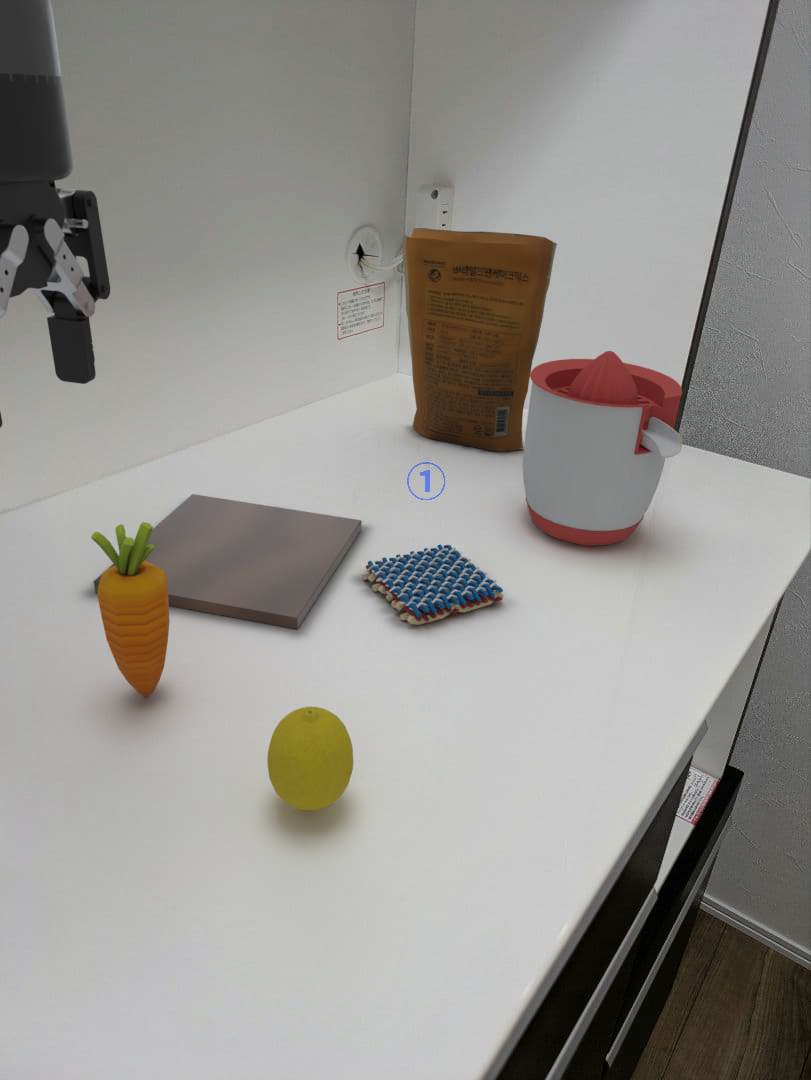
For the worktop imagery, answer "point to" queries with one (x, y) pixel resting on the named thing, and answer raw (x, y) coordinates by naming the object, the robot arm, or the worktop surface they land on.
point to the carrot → (134, 608)
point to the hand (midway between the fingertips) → (32, 403)
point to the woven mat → (432, 584)
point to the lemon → (310, 758)
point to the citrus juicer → (596, 446)
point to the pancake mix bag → (474, 331)
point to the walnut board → (248, 558)
